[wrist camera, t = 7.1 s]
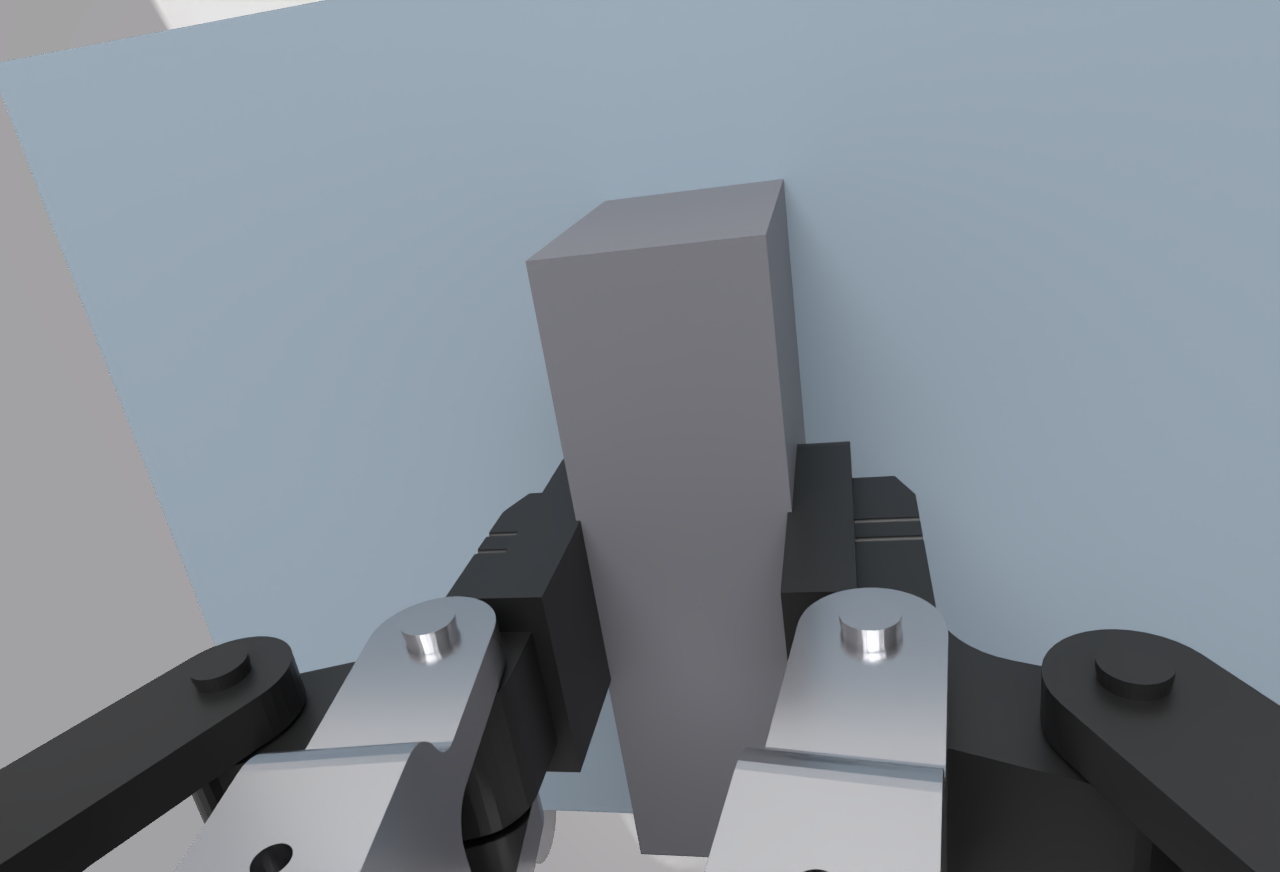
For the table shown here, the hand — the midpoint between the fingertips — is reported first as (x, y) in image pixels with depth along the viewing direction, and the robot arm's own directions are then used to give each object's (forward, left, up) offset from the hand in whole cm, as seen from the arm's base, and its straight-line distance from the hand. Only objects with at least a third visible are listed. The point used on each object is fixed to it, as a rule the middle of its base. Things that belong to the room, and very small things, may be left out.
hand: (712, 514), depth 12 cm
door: (0, 0, -3) cm, 3 cm away
